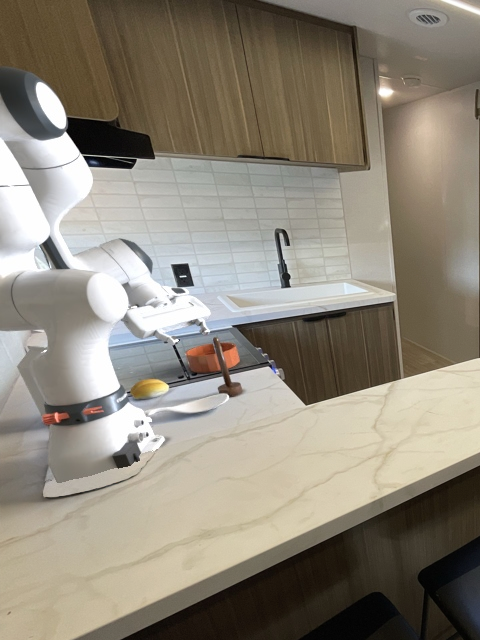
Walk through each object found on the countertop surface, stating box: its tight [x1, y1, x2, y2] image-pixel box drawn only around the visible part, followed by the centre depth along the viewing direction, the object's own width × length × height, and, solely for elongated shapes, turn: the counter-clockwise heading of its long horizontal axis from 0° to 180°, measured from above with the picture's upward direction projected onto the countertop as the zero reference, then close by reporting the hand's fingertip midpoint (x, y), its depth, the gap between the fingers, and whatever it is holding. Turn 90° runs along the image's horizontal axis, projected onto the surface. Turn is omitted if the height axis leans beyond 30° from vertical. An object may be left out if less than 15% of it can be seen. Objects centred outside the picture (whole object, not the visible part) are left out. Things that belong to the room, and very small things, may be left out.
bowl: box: [184, 342, 241, 374], centre depth 135 cm, size 14×14×6 cm
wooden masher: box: [211, 336, 243, 398], centre depth 112 cm, size 6×6×17 cm
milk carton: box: [16, 345, 47, 417], centre depth 99 cm, size 7×7×19 cm
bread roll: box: [129, 378, 170, 401], centre depth 115 cm, size 8×9×4 cm
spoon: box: [142, 393, 230, 417], centre depth 100 cm, size 9×32×4 cm, turn 130°
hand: (192, 338), depth 111 cm, fingers open, 8 cm apart
